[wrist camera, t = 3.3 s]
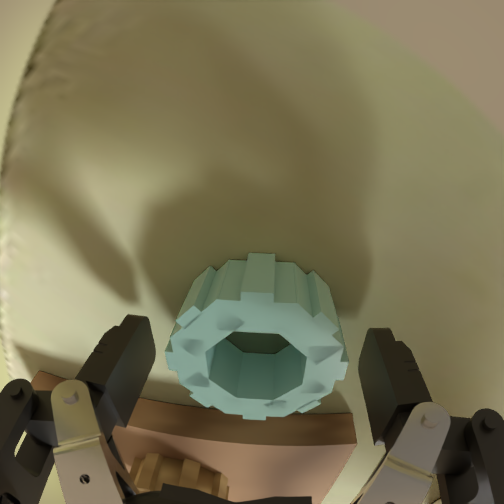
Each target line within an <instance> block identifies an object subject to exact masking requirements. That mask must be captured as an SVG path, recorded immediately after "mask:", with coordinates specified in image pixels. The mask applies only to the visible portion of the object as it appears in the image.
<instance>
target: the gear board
mask: <svg viewBox="0 0 504 504" xmlns="http://www.w3.org/2000/svg"><path fill="white" fill-rule="evenodd" d="M66 380H67V379H63V378H60V377H57V376H54V375H51V374H48V373H45V372H42V371H39V372H38V373H37V374H36V376H35V377H34V379H33V380H32V381H31V385H32V387H33V388H34V390H48V391H53V390H54V388H55V387H56V386H57V385H58V384H60V383H61V382H63V381H66ZM112 433H113V435H114V437H115V440H116V443H117V446H118V448H119V451H120V453H121V456H122V458H123V461H124V463H125V466H126V468H127V470H128V473H129V475H130V477H131V479H132V480H133V482H134V484H135V485H136V487H137V489H138V491H139V493H144V492H148V491H161V488H162V484H163V483H165V484H170V485H175V486H181V487H186V488H192V489H198V490H201V491H203V492H206V493H209V494H211V495H214V496H217V497H220V498H223V499H226V500H229V501H232V502H242V501H250V500H256V499H263V498H268V497H274V496H283V497H296V496H312V504H321V502H322V501H323V499H324V498H325V496H326V495H327V493H328V492H329V490H330V489H331V487H332V485H333V484H334V482H335V481H336V479H337V478H338V476H339V474H340V473H341V471H342V469H343V468H344V466H345V464H346V463H347V461H348V459H349V457H350V456H351V454H352V452H353V450H354V448H355V447H356V445H357V439H356V433H355V427H354V421H353V415H352V413H345V414H289V415H287V416H284V417H270V416H266V420H250V419H243V415H238V414H227V413H224V412H222V411H221V410H215V409H206V408H198V407H191V406H184V405H177V404H171V403H165V402H159V401H153V400H148V399H143V398H138V400H137V403H136V405H135V408H134V410H133V412H132V415H131V417H130V419H129V422H128V424H127V427H126V428H124V427H120V426H116V425H115V427H114V429H113V432H112Z"/></svg>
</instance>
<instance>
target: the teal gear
mask: <svg viewBox="0 0 504 504" xmlns="http://www.w3.org/2000/svg"><path fill="white" fill-rule="evenodd" d="M234 331H237V332H254V333H275V334H280V335H281V336H282V337H284V338H285V339H286V340H287V341H288V342H289V343H291V344H290V345H288V346H287V347H285V348H284V349H282V350H281V351H279V352H277V353H276V354H262V353H244V352H242V351H241V350H239V349H238V348H237V347H236V346H234V345H233V344H232V343H231V342H229V341H228V340H227V339H225V337H227V336H228V335H229V334H231V333H232V332H234ZM165 355H166V360H167V364H168V368H169V370H172V371H177V373H178V378H179V383H180V384H181V385H183V386H184V387H186V388H187V389H188V390H190V395H189V396H190V397H191V398H193V399H195V400H196V401H198V402H199V403H201V404H202V405H204V406H205V407H207V408H208V407H210V406H212V405H213V406H214V407H216V408H218V409H219V410H221V411H222V412H224V413H227V414H238V415H243V419H250V420H266V416H270V417H284V416H287V415H289V414H291V413H293V412H295V411H299V412H300V413H304V412H306V411H308V410H310V409H312V408H314V407H316V406H318V405H320V404H321V398H322V397H324V396H326V395H328V394H330V393H332V389H333V386H334V382H335V380H344V377H345V374H346V370H347V367H348V363H349V360H348V356H347V351H346V347H345V343H344V339H343V334H342V330H341V326H340V322H339V318H338V317H337V314H336V310H335V306H334V302H333V301H332V297H331V293H330V289H329V286H328V285H327V284H326V283H325V282H324V281H323V280H322V279H321V278H320V277H319V275H318V274H317V273H316V272H315V271H314V270H313V271H311V272H310V273H309V274H308V275H306V274H305V273H304V272H303V271H302V270H301V269H300V268H299V267H298V266H297V265H296V264H295V263H294V262H275V254H267V253H249V254H248V258H247V261H245V260H228V261H227V262H226V263H225V264H224V265H223V266H222V267H221V268H220V269H218V270H217V271H216V270H215V269H214V268H212V267H211V266H209V267H208V268H207V269H206V270H205V271H204V272H203V273H202V274H201V275H199V276H198V277H197V278H196V279H195V280H194V282H193V284H192V286H191V288H190V290H189V293H188V295H187V297H186V299H185V301H184V303H183V305H182V308H181V310H180V312H179V314H178V316H177V318H176V325H175V327H174V329H173V331H172V334H171V336H170V341H169V343H168V345H167V347H166V350H165Z"/></svg>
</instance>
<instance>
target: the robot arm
mask: <svg viewBox="0 0 504 504" xmlns="http://www.w3.org/2000/svg"><path fill="white" fill-rule="evenodd" d="M155 355H156V349H155V344H154V339H153V335H152V331H151V326H150V322H149V319H148V317H146V316H138V315H130V314H128V315H127V316H126V317H125V318H124V320H123V321H122V323H121V324H120V326H114V327H113V328H111V329H110V330H109V331H107V332H106V333H105V334H104V335H103V337H102V338H101V340H100V341H99V344H98V345H97V346H96V347H95V349H94V352H92V353H91V355H90V356H89V358H88V359H87V361H86V362H85V364H84V365H83V367H82V369H81V370H80V372H79V373H78V375H77V376H76V378H75V379H72V380H66V381H63V382H61V383H60V384H58V385H57V386H56V387H55V388H54V390H53V391H48V390H34V388H33V387H32V385H31V383H30V382H29V381H27V380H25V379H15V380H12V381H11V382H9V383H8V384H7V385H6V386H5V387H4V388H3V390H2V391H1V393H0V504H38V503H39V501H40V498H41V495H42V493H43V490H44V487H45V485H46V482H47V480H48V477H49V475H50V472H51V470H52V467H53V465H54V462H55V464H56V468H57V473H58V476H59V480H60V484H61V488H62V492H63V495H64V499H65V502H66V504H312V496H296V497H283V496H274V497H268V498H263V499H256V500H250V501H242V502H232V501H229V500H226V499H223V498H220V497H217V496H214V495H211V494H209V493H206V492H203V491H201V490H198V489H192V488H186V487H181V486H175V485H170V484H165V483H163V484H162V488H161V491H148V492H144V493H139V491H138V489H137V487H136V485H135V484H134V482H133V480H132V479H131V477H130V475H129V473H128V470H127V468H126V466H125V463H124V461H123V458H122V456H121V453H120V451H119V448H118V446H117V443H116V440H115V437H114V435H113V433H112V432H113V429H114V427H115V425H116V426H120V427H124V428H126V427H127V424H128V422H129V419H130V417H131V415H132V412H133V410H134V408H135V405H136V403H137V400H138V398H139V396H140V393H141V391H142V389H143V387H144V384H145V382H146V380H147V377H148V375H149V373H150V371H151V368H152V366H153V364H154V361H155ZM358 371H359V377H360V381H361V386H362V390H363V394H364V399H365V403H366V408H367V412H368V417H369V422H370V427H371V431H372V436H373V441H374V446H375V445H383V444H385V448H386V452H385V453H384V455H383V457H382V458H381V460H380V461H379V463H378V465H377V466H376V468H375V469H374V471H373V472H372V474H371V476H370V477H369V479H368V480H367V482H366V483H365V484H364V486H363V487H362V489H361V490H360V492H359V493H358V494H357V496H356V497H355V498H354V499H353V501H352V502H351V503H350V504H422V502H423V500H424V498H425V496H426V494H427V492H428V490H429V488H430V486H431V484H432V481H433V477H432V476H430V475H431V473H433V474H437V479H438V485H439V490H440V496H441V499H439V500H437V501H436V502H435V503H433V504H504V420H503V418H502V417H501V416H500V415H499V414H498V413H497V412H496V411H494V410H492V409H486V408H485V409H480V410H478V411H477V412H476V413H475V414H474V415H473V417H472V418H461V417H452V416H449V414H448V412H447V411H446V409H445V408H444V407H442V406H441V405H439V404H437V403H434V402H433V401H432V399H431V397H430V394H429V392H428V389H427V387H426V384H425V382H424V379H423V377H422V375H421V372H420V371H419V368H418V365H417V363H415V358H414V356H413V354H412V352H411V350H410V349H409V348H408V347H407V346H406V345H405V344H404V343H403V342H402V341H395V339H394V336H393V334H392V332H391V330H390V328H369V329H368V331H367V334H366V338H365V341H364V345H363V348H362V352H361V355H360V358H359V365H358ZM24 430H25V432H26V433H27V434H26V436H25V438H24V441H23V442H22V444H21V447H20V449H19V451H18V453H17V455H16V457H15V455H14V452H15V448H16V446H17V444H18V442H19V440H20V438H21V436H22V434H23V432H24Z"/></svg>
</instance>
